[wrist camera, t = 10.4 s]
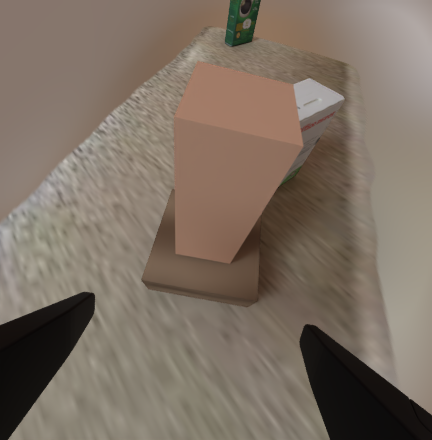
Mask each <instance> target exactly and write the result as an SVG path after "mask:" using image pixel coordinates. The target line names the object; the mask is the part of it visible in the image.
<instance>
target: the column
mask: <svg viewBox="0 0 432 440" xmlns="http://www.w3.org/2000/svg"><path fill="white" fill-rule="evenodd" d="M302 148H303V140H302V134H301V128H300V122H299V116H298V110H297V104H296V98H295V92H294V86H293V85H292V84H288V83H284V82H280V81H276V80H272V79H268V78H264V77H260V76H256V75H252V74H248V73H244V72H240V71H236V70H232V69H228V68H224V67H220V66H216V65H212V64H208V63H204V62H200V61H198V62H197V64H196V66H195V69H194V71H193V73H192V76H191V78H190V80H189V83H188V85H187V87H186V90H185V92H184V95H183V97H182V99H181V102H180V104H179V106H178V109H177V111H176V113H175V116H174V159H175V253H176V254H179V255H185V256H190V257H196V258H201V259H207V260H212V261H218V262H223V263H229V264H230V263H231V261H232V260H233V258H234V256H235V255H236V253H237V252H238V250H239V249H240V247H241V245H242V244H243V242H244V241H245V239H246V237H247V236H248V234H249V233H250V231H251V229H252V228H253V226H254V225H255V223H256V221H257V220H258V218H259V217H260V215H261V213H262V212H263V210H264V209H265V207H266V205H267V204H268V202H269V201H270V199H271V197H272V196H273V194H274V193H275V191H276V189H277V188H278V186H279V185H280V183H281V182H282V180H283V178H284V177H285V175H286V174H287V172H288V170H289V169H290V167H291V166H292V164H293V162H294V161H295V159H296V158H297V156H298V154H299V153H300V151H301V150H302Z"/></svg>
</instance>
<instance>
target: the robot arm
mask: <svg viewBox="0 0 432 440" xmlns="http://www.w3.org/2000/svg"><path fill="white" fill-rule="evenodd" d="M94 310H95V294H94V293H90V292H82V293H79V294H77V295H74V296H72V297H69V298H67V299H64V300H62V301H59V302H57V303H54V304H52V305H49V306H47V307H44V308H42V309H39V310H37V311H34V312H32V313H29V314H27V315H24V316H22V317H19V318H17V319H14V320H12V321H9V322H7V323H4V324H2V325H0V440H8V439H9V437H10V436H11V435H12V433H13V432H14V431H15V429H16V428H17V426H18V425H19V424H20V422H21V421H22V420H23V418H24V417H25V415H26V414H27V413H28V411H29V410H30V409H31V407H32V406H33V404H34V403H35V402H36V400H37V399H38V397H39V396H40V395H41V393H42V392H43V391H44V389H45V388H46V386H47V385H48V384H49V382H50V381H51V380H52V378H53V377H54V375H55V374H56V373H57V371H58V370H59V369H60V367H61V366H62V364H63V363H64V362H65V360H66V359H67V357H68V356H69V355H70V353H71V352H72V350H73V348H74V347H75V345H76V343H77V342H78V340H79V338H80V337H81V335H82V333H83V332H84V330H85V328H86V327H87V325H88V323H89V322H90V320H91V318H92V316H93V314H94ZM300 348H301V352H302V356H303V359H304V363H305V367H306V371H307V374H308V378H309V382H310V385H311V388H312V391H313V394H314V397H315V399H316V402H317V405H318V408H319V410H320V413H321V416H322V419H323V421H324V424H325V427H326V430H327V432H328V435H329V438H330V440H432V415H431V414H430V413H428V412H427V411H426V410H424V409H423V408H422V407H420V406H419V405H418V404H417V403H415V402H414V401H413V400H411V399H409V398H408V397H407V396H406V395H405V394H403V393H402V392H401V391H400V390H398V389H397V388H396V387H394V386H393V385H392V384H390V383H389V382H388V381H387V380H385V379H384V378H383V377H381V376H380V375H379V374H378V373H376V372H375V371H374V370H372V369H371V368H370V367H368V366H367V365H366V364H365V363H363V362H362V361H361V360H359V359H358V358H357V357H355V356H354V355H353V354H352V353H350V352H349V351H348V350H346V349H345V348H344V347H342V346H341V345H340V344H339V343H337V342H336V341H335V340H333V339H332V338H331V337H330V336H328V335H327V334H326V333H324V332H323V331H322V330H320V329H319V328H318V327H317V326H315V325H309V324H306V325H305V326H304V328H303V331H302V334H301V337H300Z"/></svg>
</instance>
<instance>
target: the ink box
mask: <svg viewBox="0 0 432 440" xmlns="http://www.w3.org/2000/svg"><path fill="white" fill-rule="evenodd" d="M293 86H294V92H295V98H296V104H297V110H298V116H299V122H300V128H301V134H302V140H303V148H302V150H301V151H300V153H299V154H298V156H297V158H296V159H295V161H294V162H293V164H292V166H291V167H290V169H289V170H288V172H287V174H286V175H285V177H284V178H283V180H282V182H281V183H280V185H282V184H283V183H285V182H286V181H288V180H289V179H291V178H292V177H294V176H295V175H296V174H297V172H298V171H299V169H300V168H301V166H302V165H303V163H304V162H305V160H306V159H307V157H308V156H309V154H310V152H311V151H312V149H313V148H314V146H315V145H316V143H317V142H318V140H319V139H320V137H321V135H322V134H323V132H324V131H325V129H326V128H327V126H328V125H329V123H330V122H331V120H332V119H333V117H334V116H335V114H336V113H337V111H338V110H339V108H340V106H341V105H342V103H343V102H344V100H345V99H344V97H343V96H342V95H340V94H338V93H336V92H335V91H333V90H331V89H329V88H327V87H325V86H323V85H321V84H320V83H318V82H316V81H314V80H312V79H311V78H308V79H306V80H304V81H301V82H299V83H296V84H293ZM280 185H279V186H280ZM279 186H278V187H279Z"/></svg>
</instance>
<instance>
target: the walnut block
mask: <svg viewBox="0 0 432 440" xmlns="http://www.w3.org/2000/svg"><path fill="white" fill-rule="evenodd" d="M260 231H261V215H260V217H259V218H258V220H257V221H256V223H255V225H254V226H253V228H252V229H251V231H250V233H249V234H248V236H247V237H246V239H245V241H244V242H243V244H242V245H241V247H240V249H239V250H238V252H237V253H236V255H235V256H234V258H233V260H232V261H231V263H230V264H229V263H223V262H218V261H212V260H207V259H201V258H196V257H190V256H185V255H179V254H176V253H175V190H174V189H172V191H171V194H170V197H169V200H168V203H167V206H166V209H165V212H164V215H163V218H162V221H161V224H160V226H159V229H158V232H157V235H156V238H155V241H154V244H153V247H152V250H151V253H150V256H149V259H148V262H147V265H146V268H145V271H144V273H143V276H142V279H141V280H142V281H143V283H144V284H145V285H146V287H147V288H148V289H150V290H155V291H161V292H166V293H172V294H177V295H183V296H188V297H194V298H199V299H205V300H210V301H216V302H221V303H227V304H232V305H238V306H243V307H248V306H250V305H252V304H253V303H255V302H257V301H258V278H259V255H260Z"/></svg>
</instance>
